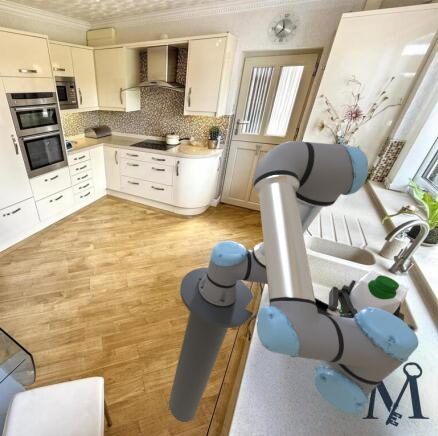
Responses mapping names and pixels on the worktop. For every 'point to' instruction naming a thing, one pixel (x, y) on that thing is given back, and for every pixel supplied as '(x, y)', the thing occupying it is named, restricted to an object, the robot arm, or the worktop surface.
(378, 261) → the worktop surface
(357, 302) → the soya milk
